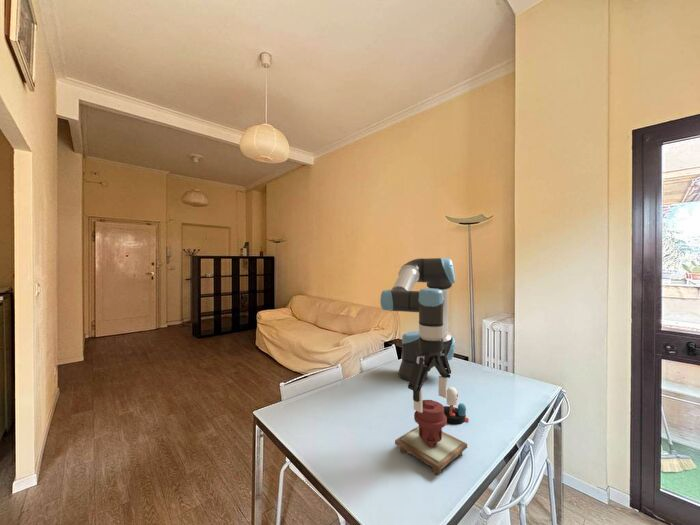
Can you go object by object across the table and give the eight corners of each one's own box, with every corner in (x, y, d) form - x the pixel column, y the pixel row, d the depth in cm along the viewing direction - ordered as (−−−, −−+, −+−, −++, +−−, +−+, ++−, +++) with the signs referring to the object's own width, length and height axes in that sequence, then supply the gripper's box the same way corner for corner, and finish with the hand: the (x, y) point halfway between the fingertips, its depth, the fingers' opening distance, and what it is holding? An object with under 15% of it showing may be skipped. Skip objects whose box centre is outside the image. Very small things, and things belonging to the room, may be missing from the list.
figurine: (469, 427, 105) (469, 395, 105) (437, 422, 109) (437, 390, 109) (468, 415, 114) (468, 384, 114) (439, 410, 118) (439, 380, 118)
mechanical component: (444, 434, 95) (448, 453, 86) (413, 430, 97) (414, 449, 88) (444, 396, 96) (448, 412, 86) (413, 394, 98) (414, 408, 88)
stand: (424, 431, 103) (424, 421, 103) (467, 453, 91) (467, 442, 91) (394, 450, 93) (395, 439, 93) (438, 478, 80) (438, 465, 80)
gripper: (442, 328, 103) (442, 387, 103) (396, 342, 87) (396, 412, 87) (461, 332, 97) (461, 395, 97) (416, 348, 81) (416, 423, 81)
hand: (430, 403), depth 92 cm, fingers open, 13 cm apart
